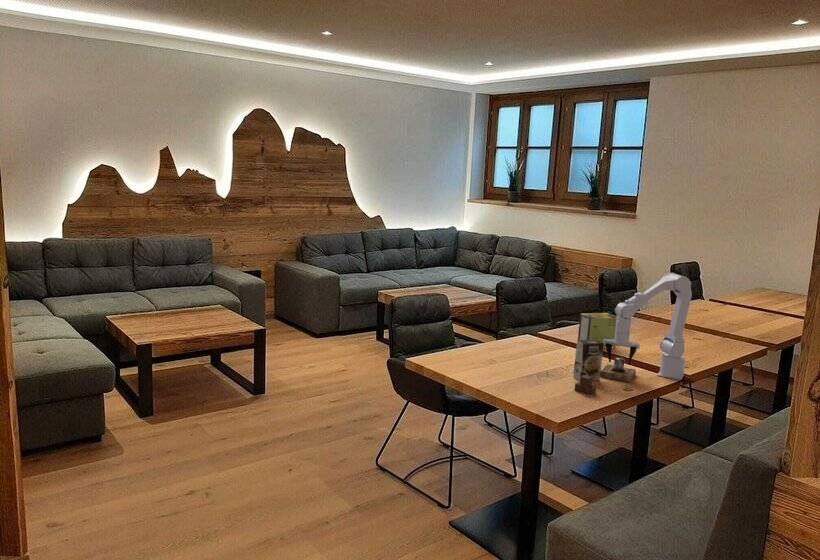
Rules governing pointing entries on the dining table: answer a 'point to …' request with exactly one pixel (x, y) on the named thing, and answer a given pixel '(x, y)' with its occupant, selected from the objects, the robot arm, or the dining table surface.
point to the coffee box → (588, 359)
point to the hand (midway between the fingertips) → (619, 362)
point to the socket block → (618, 373)
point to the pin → (619, 364)
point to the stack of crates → (585, 385)
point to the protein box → (597, 327)
